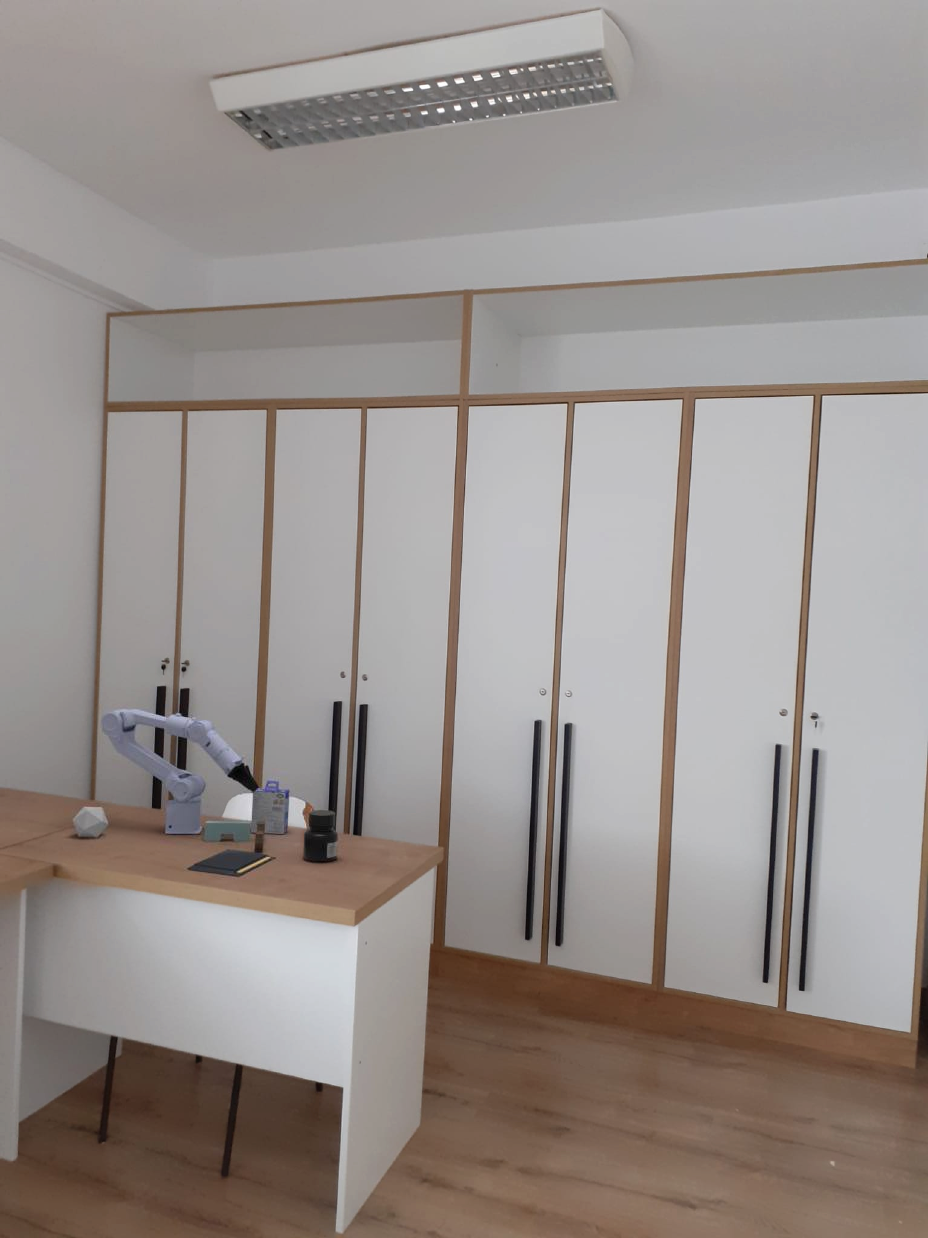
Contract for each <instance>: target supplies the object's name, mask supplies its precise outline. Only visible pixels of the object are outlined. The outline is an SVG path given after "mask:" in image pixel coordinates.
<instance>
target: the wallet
mask: <svg viewBox="0 0 928 1238" xmlns="http://www.w3.org/2000/svg"><path fill="white" fill-rule="evenodd" d="M276 859H277V857H276V856H270V855H268V854H267V853H266V854H265V853H255V851H254V852H252V851H248V850H247V851H246V850H245V851H244V850H239V849H230V848H229V849H226V850H224V851H221V852H219V853H216V854H214V855H211V856H210V857H206V858H205V859H202V860H200V861H198V862H196V863H194V864H193V865H191V866H189V867H187V870H188V871H190V872H191V871H192V872H200V873H207V874H214V875H222V876H228V877H237V878H239V877H242V876H244V875H245V874H247V873H249V872H251V871H253V870H255V869H257V868H259V867H261V866H263V865H265V864H267V863H269V862H271V861H273V860H276Z"/></svg>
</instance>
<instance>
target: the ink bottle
mask: <svg viewBox="0 0 928 1238" xmlns="http://www.w3.org/2000/svg"><path fill="white" fill-rule="evenodd" d="M335 824H336V812H335V811H333V810H327V809H325V810H324V809H318V810H317V809H316V810H311V811H309V812H308V829H307V830H306V831H305V832H304V835H303V850H302V851H303V852H302V853H303V854H302V857H303V858H304V860H306V861H309V862H314V863H315V862H316V863H324V862H332V861H335V860H336V859H337V858H338V846H339V844H338V843H339V834H338V831H336V830H335V829H334V828H335Z"/></svg>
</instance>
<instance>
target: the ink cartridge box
mask: <svg viewBox="0 0 928 1238" xmlns="http://www.w3.org/2000/svg"><path fill="white" fill-rule="evenodd" d="M270 784H271V785H270ZM272 784H273V785H272ZM274 785H275V786H274ZM279 785H280V781H278V780H277V781H275V780H274V781H273V780H266V783H265V788H258V789H257V790H256V791H254V792H252V801H251V802H252V803H251V804H252V805H251V821H250V834H251V833H252V834H253V833H254V834H256V831H257V823H258V821H265V834H274V835H284V834H285V833H287V832H288V829H289V811H290V809H289V807H290V789H285V788H283V789H282V788H279Z"/></svg>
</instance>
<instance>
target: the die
mask: <svg viewBox="0 0 928 1238" xmlns="http://www.w3.org/2000/svg"><path fill="white" fill-rule="evenodd" d="M72 822H73V825H74V828H75V831H76V833H77V836H78V838H94V839H95V838H98V837H99V836H100V835H101V834H102V833H103V832H104V831H105V829H106V828H107V827H108V826H109V822H108V819H107V817H106V813H105V811H104V808H103V807H97V806H83V807H82V808H81V809H80V811H79V812H78V813H77V814H76V816H74V818H73V819H72Z"/></svg>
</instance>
